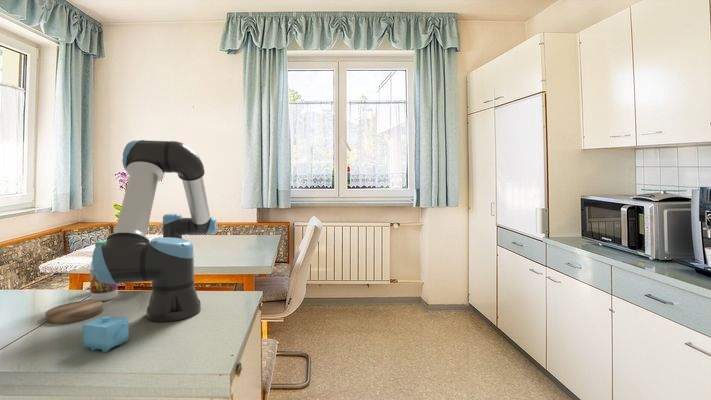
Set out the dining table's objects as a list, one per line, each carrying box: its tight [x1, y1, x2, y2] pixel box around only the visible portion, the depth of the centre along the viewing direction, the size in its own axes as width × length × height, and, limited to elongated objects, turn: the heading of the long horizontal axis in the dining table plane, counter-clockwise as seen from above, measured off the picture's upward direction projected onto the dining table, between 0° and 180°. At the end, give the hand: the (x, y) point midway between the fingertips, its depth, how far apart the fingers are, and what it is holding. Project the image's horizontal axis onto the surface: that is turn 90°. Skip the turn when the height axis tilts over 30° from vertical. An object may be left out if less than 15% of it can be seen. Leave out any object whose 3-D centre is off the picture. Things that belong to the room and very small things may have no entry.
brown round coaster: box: [44, 300, 104, 325], centre depth 110 cm, size 14×14×2 cm
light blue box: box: [82, 315, 130, 353], centre depth 88 cm, size 12×6×8 cm, turn 76°
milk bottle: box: [89, 240, 119, 302], centre depth 124 cm, size 8×8×20 cm
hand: (111, 265), depth 128 cm, fingers open, 13 cm apart
